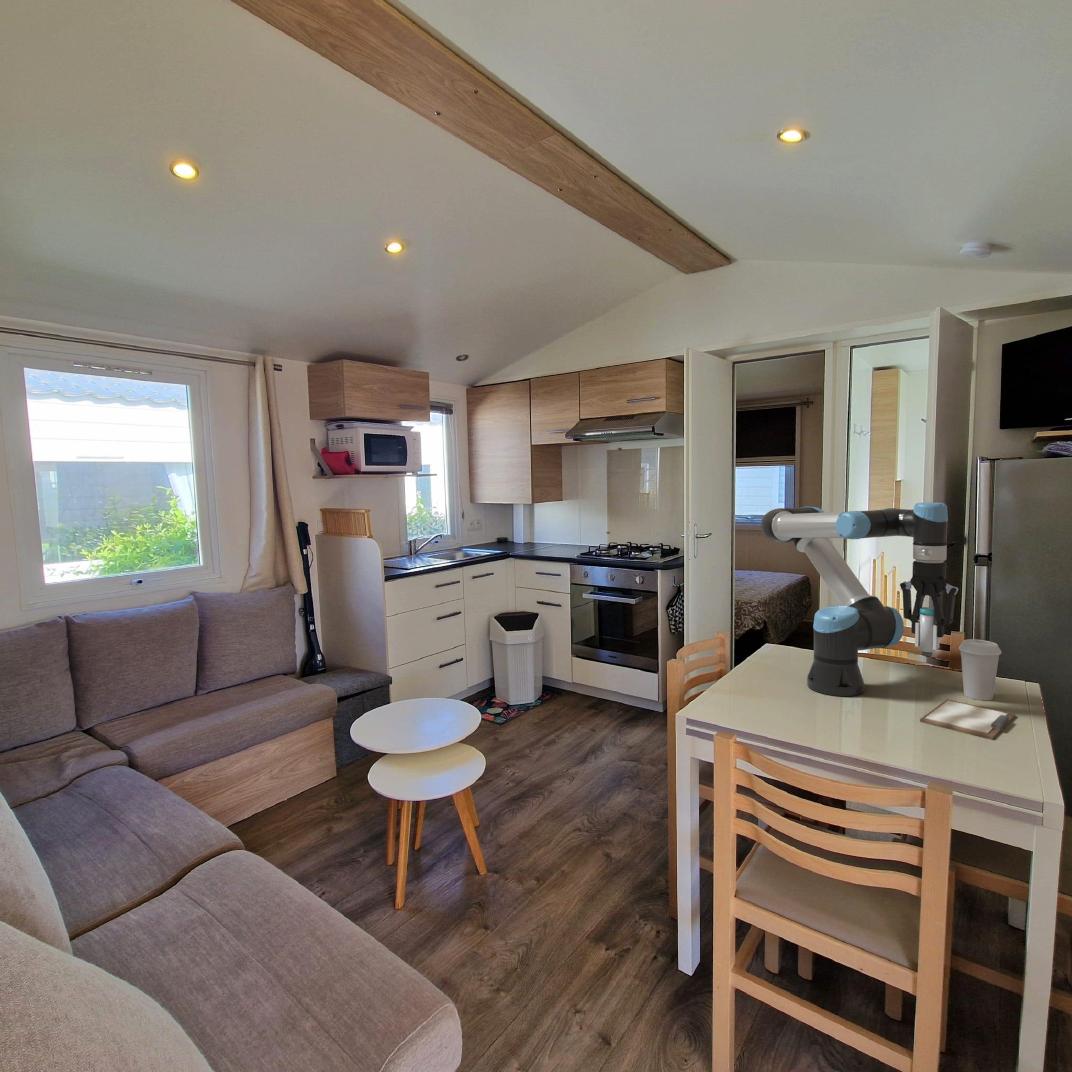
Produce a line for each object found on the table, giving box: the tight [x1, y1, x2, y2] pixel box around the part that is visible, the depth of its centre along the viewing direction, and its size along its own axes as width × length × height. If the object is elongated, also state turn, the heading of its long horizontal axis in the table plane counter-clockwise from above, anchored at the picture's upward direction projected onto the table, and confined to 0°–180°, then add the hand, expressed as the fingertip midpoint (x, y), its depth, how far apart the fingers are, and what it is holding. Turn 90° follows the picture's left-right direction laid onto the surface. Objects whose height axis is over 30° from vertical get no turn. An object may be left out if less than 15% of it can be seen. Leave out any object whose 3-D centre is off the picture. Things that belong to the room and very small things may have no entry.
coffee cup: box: [958, 638, 1002, 701], centre depth 168 cm, size 10×10×15 cm
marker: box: [918, 606, 937, 657], centre depth 164 cm, size 4×4×13 cm
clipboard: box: [919, 698, 1017, 741], centre depth 154 cm, size 15×20×2 cm
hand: (927, 647), depth 164 cm, fingers closed on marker, 3 cm apart
